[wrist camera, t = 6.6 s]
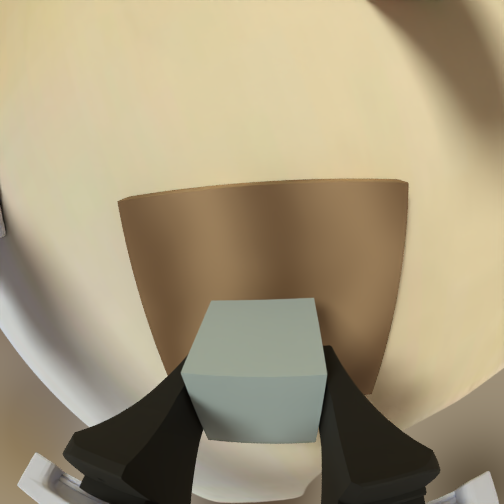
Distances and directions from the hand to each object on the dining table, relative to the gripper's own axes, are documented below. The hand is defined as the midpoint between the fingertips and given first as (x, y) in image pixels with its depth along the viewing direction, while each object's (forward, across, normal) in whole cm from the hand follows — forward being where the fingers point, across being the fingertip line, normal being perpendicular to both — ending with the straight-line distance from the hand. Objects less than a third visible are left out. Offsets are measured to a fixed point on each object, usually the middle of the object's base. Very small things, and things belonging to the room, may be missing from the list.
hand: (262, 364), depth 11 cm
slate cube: (+2, 0, 0) cm, 2 cm away
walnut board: (+4, 0, 0) cm, 4 cm away
